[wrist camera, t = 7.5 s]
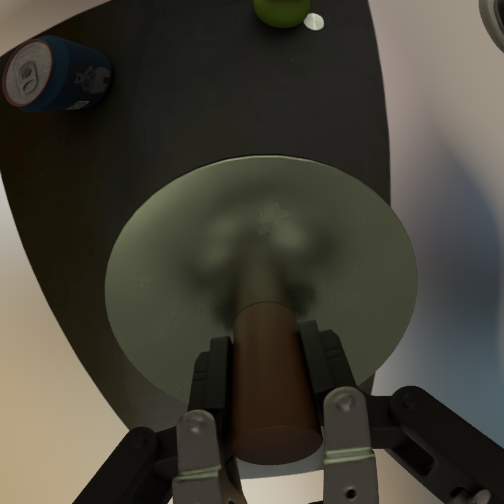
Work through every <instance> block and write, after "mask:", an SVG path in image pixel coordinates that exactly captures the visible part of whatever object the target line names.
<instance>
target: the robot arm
mask: <svg viewBox="0 0 504 504" xmlns="http://www.w3.org/2000/svg"><path fill="white" fill-rule="evenodd" d="M494 13H495V16H496V19H497V22H498V24H499V27H500V28H501V30H502V32H503V34H504V0H494ZM298 329H299V335H300V339H301V343H302V348H303V352H304V357H305V361H306V366H307V370H308V375H309V379H310V384H311V388H312V393H313V398H314V402H315V407H316V409H317V413H318V418H319V422H320V426H323V427H324V491H323V501H318V502H312V503H309V504H379V495H378V480H377V469H376V459H375V453H374V451H373V450H372V449H384V450H385V451H386V452H387V453H388V454H389V455H391V457H393V458H394V459H395V460H396V461H397V462H398V463H399V464H400V465H401V466H402V467H403V468H405V469H406V470H407V471H408V472H409V473H410V474H411V475H412V476H413V477H414V478H416V479H417V480H418V481H419V482H420V483H421V484H422V485H423V486H425V487H426V488H427V489H428V490H429V491H430V492H432V493H433V494H434V495H435V496H436V497H437V498H438V499H440V500H441V501H442V502H443V503H444V504H504V449H503V448H502V447H501V446H499V445H498V444H496V443H495V442H494V441H492V440H491V439H490V438H488V437H487V436H485V435H484V434H483V433H481V432H480V431H479V430H477V429H476V428H475V427H473V426H472V425H471V424H469V423H468V422H466V421H465V420H464V419H462V418H461V417H460V416H458V415H457V414H456V413H454V412H453V411H451V410H450V409H449V408H447V407H446V406H445V405H444V404H442V403H441V402H439V401H438V400H436V399H435V398H434V397H433V396H431V395H430V394H429V393H427V392H426V391H425V390H423V389H422V388H420V387H416V386H405V387H402V388H400V389H398V390H397V391H396V392H395V393H394V394H393V395H392V396H372V395H368V394H366V393H364V392H363V391H361V390H360V389H359V388H358V386H357V385H356V382H355V380H354V377H353V374H352V371H351V368H350V366H349V363H348V360H347V357H346V355H345V352H344V349H343V347H342V344H341V341H340V338H339V336H338V335H337V334H336V333H334V332H333V331H332V330H331V329H329V330H324V331H320V332H319V329H318V326H317V323H316V320H311V321H306V322H301V323H298ZM232 359H233V343H232V341H231V338H230V336H223V337H217V338H211V341H210V350H209V351H206V352H201V353H200V355H199V356H198V358H197V359H196V361H195V364H194V371H193V372H194V374H193V377H192V384H191V391H190V397H189V404H188V411H187V413H186V414H184V415H183V416H182V417H181V418H180V419H179V421H178V423H177V425H176V426H174V427H172V428H169V429H166V430H163V431H160V432H156V433H155V432H154V431H153V430H152V429H150V428H148V427H137V428H134V429H132V430H131V431H129V432H128V433H127V434H126V435H125V437H124V438H123V439H122V441H121V442H120V443H119V445H118V446H117V447H116V449H115V450H114V451H113V452H112V454H111V455H110V456H109V458H108V459H107V460H106V461H105V462H104V464H103V465H102V466H101V468H100V469H99V470H98V471H97V473H96V474H95V475H94V477H93V478H92V479H91V480H90V482H89V483H88V484H87V485H86V487H85V488H84V489H83V491H82V492H81V493H80V494H79V496H78V497H77V498H76V499H75V501H74V502H73V503H72V504H168V502H169V501H170V499H171V498H172V496H173V504H247V501H246V499H245V497H244V494H243V491H242V486H241V481H240V476H239V471H238V466H237V461H236V457H235V456H234V455H233V453H232V451H231V448H230V443H231V396H232Z"/></svg>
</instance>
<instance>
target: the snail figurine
mask: <svg viewBox="0 0 504 504" xmlns="http://www.w3.org/2000/svg"><path fill="white" fill-rule="evenodd" d="M253 7H254V11H255V13H256V15H257V16H258V18H259V19H260V20H261V21H263V22H264V23H265V24H267V25H269V26H272V27H276V28H290V27H293V26H296V25H298V24H300V23H301V22H302V21H303V20H304V19H305V18H306V17H307V15H308V13H309V10H310V1H309V0H253Z"/></svg>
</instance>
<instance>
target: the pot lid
mask: <svg viewBox="0 0 504 504" xmlns="http://www.w3.org/2000/svg"><path fill="white" fill-rule="evenodd" d="M416 295H417V267H416V259H415V255H414V251H413V248H412V245H411V242H410V239H409V237H408V235H407V233H406V231H405V229H404V227H403V225H402V223H401V221H400V220H399V218H398V217H397V216H396V214H395V213H394V211H393V210H392V209H391V207H390V206H389V205H388V204H387V203H386V202H385V201H384V200H383V199H382V198H381V197H380V196H379V195H378V194H377V193H376V192H375V191H374V190H372V189H371V188H369V187H368V186H367V185H365V184H364V183H362V182H361V181H359V180H358V179H357V178H355V177H353V176H352V175H350V174H348V173H346V172H344V171H342V170H340V169H337V168H335V167H333V166H331V165H328V164H325V163H322V162H319V161H316V160H312V159H309V158H305V157H299V156H292V155H285V154H248V155H242V156H235V157H229V158H224V159H221V160H217V161H214V162H211V163H208V164H204V165H201V166H199V167H197V168H195V169H192V170H190V171H188V172H186V173H184V174H182V175H180V176H178V177H176V178H175V179H173V180H172V181H170V182H169V183H167V184H166V185H164V186H163V187H162V188H160V189H159V190H157V191H156V192H155V193H154V194H153V195H152V196H151V197H150V198H148V199H147V200H146V201H145V202H144V203H143V204H142V205H141V206H140V207H139V208H138V209H137V210H136V211H135V213H134V214H133V215H132V217H131V218H130V219H129V221H128V222H127V223H126V225H125V226H124V227H123V229H122V231H121V233H120V235H119V236H118V238H117V240H116V242H115V244H114V246H113V249H112V252H111V255H110V258H109V262H108V265H107V271H106V278H105V303H106V309H107V314H108V319H109V322H110V325H111V328H112V331H113V333H114V335H115V337H116V339H117V341H118V343H119V345H120V347H121V349H122V350H123V352H124V353H125V355H126V356H127V357H128V359H129V360H130V361H131V363H132V364H133V365H134V366H135V367H136V368H137V369H138V370H139V372H140V373H141V374H143V375H144V376H145V377H146V378H147V379H148V380H149V381H150V382H152V383H153V384H154V385H156V386H157V387H159V388H160V389H161V390H163V391H164V392H166V393H168V394H169V395H171V396H173V397H175V398H177V399H178V400H181V401H183V402H185V403H187V404H189V397H190V391H191V384H192V377H193V374H194V372H193V371H194V364H195V361H196V359H197V358H198V356H199V355H200V353H201V352H206V351H209V350H210V341H211V338H217V337H223V336H230V338H231V341H232V343H233V359H232V396H231V443H230V448H231V451H232V453H233V455H234V456H235V457H237V458H238V459H240V460H242V461H245V462H248V463H252V464H258V465H281V464H287V463H292V462H296V461H299V460H302V459H304V458H306V457H308V456H310V455H312V454H314V453H315V452H316V451H317V450H318V449H319V448H320V447H321V445H322V443H323V437H322V432H321V427H320V422H319V418H318V413H317V409H316V407H315V402H314V398H313V393H312V388H311V384H310V379H309V375H308V370H307V366H306V361H305V357H304V352H303V348H302V343H301V339H300V335H299V329H298V323H301V322H306V321H311V320H316V323H317V326H318V329H319V332H320V331H324V330H329V329H331V330H332V331H333V332H334V333H336V334H337V335H338V336H339V338H340V341H341V344H342V347H343V349H344V352H345V355H346V357H347V360H348V363H349V366H350V368H351V371H352V374H353V377H354V380H355V382H356V385H357V386H358V385H360V384H361V383H362V382H364V381H365V380H366V379H367V378H369V377H370V376H371V375H372V374H373V373H374V372H375V371H376V370H377V369H378V368H379V367H381V366H382V364H383V363H384V362H385V361H386V360H387V359H388V357H389V356H390V355H391V354H392V352H393V351H394V350H395V348H396V347H397V345H398V344H399V342H400V340H401V339H402V337H403V335H404V333H405V331H406V329H407V327H408V325H409V322H410V319H411V316H412V313H413V310H414V305H415V300H416Z"/></svg>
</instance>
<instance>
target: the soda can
mask: <svg viewBox="0 0 504 504" xmlns="http://www.w3.org/2000/svg"><path fill="white" fill-rule="evenodd" d="M111 76H112V69H111V64H110V61H109V59H108V58H107V57H106V55H105V54H103V53H102V52H100V51H98V50H95V49H92V48H89V47H87V46H84V45H81V44H78V43H75V42H72V41H69V40H65V39H62V38H59V37H56V36H43V37H40V38H37V39H33V40H29V41H27V42H25V43H24V44H22V45H21V46H20V47H18V48H17V49H16V51H15V52H14V53H13V54H12V56H11V57H10V59H9V61H8V63H7V65H6V68H5V71H4V74H3V81H2V85H3V92H4V95H5V97H6V99H7V100H8V102H9V103H11V104H12V105H14V106H17V107H18V108H19V109H21V110H23V111H25V112H41V111H54V110H71V109H84V108H88V107H90V106H92V105H94V104H95V103H97V102H98V101H99V100H100V99H101V98H102V97H103V95H104V94H105V93H106V91H107V89H108V87H109V85H110V82H111Z"/></svg>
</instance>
